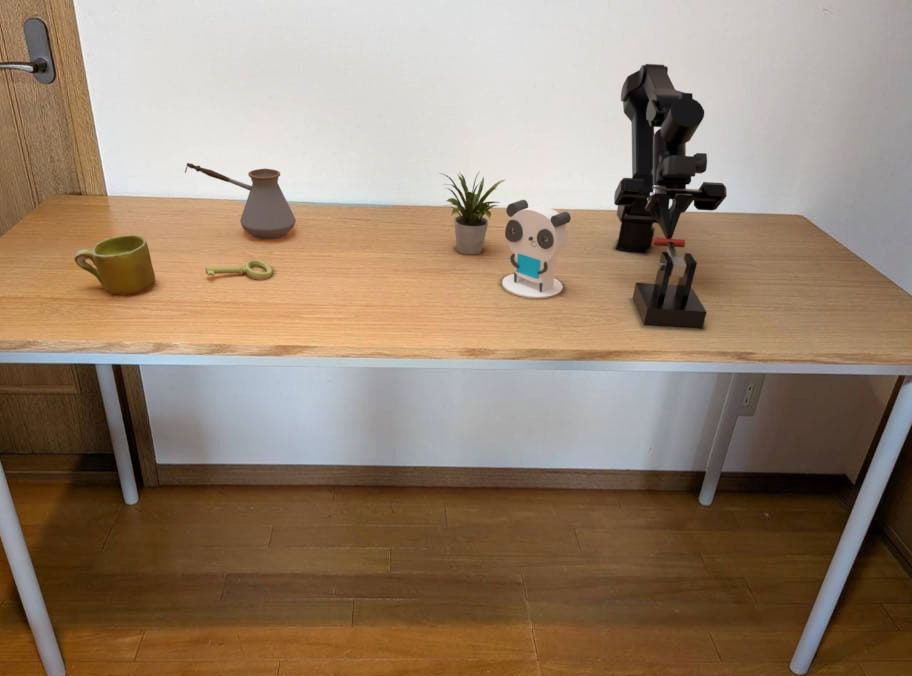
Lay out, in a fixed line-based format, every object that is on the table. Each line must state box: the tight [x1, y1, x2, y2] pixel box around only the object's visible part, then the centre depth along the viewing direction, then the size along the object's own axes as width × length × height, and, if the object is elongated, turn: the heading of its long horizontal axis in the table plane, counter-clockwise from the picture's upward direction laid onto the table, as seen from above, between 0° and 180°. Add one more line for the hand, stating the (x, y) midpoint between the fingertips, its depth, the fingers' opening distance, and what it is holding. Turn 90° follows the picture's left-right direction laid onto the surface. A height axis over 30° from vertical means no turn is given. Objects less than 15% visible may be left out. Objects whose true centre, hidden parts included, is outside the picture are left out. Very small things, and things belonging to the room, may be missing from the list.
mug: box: [73, 234, 156, 296], centre depth 132 cm, size 12×10×10 cm
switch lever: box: [652, 237, 686, 279], centre depth 130 cm, size 10×6×2 cm, turn 177°
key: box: [205, 259, 273, 281], centre depth 139 cm, size 7×12×2 cm, turn 131°
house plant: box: [439, 169, 506, 255], centre depth 151 cm, size 14×14×16 cm
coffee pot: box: [184, 162, 297, 241], centre depth 154 cm, size 21×12×15 cm, turn 99°
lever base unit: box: [632, 251, 707, 330], centre depth 130 cm, size 11×10×11 cm
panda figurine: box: [501, 199, 572, 299], centre depth 137 cm, size 12×11×15 cm
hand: (669, 238), depth 133 cm, fingers closed, pressing on switch lever
